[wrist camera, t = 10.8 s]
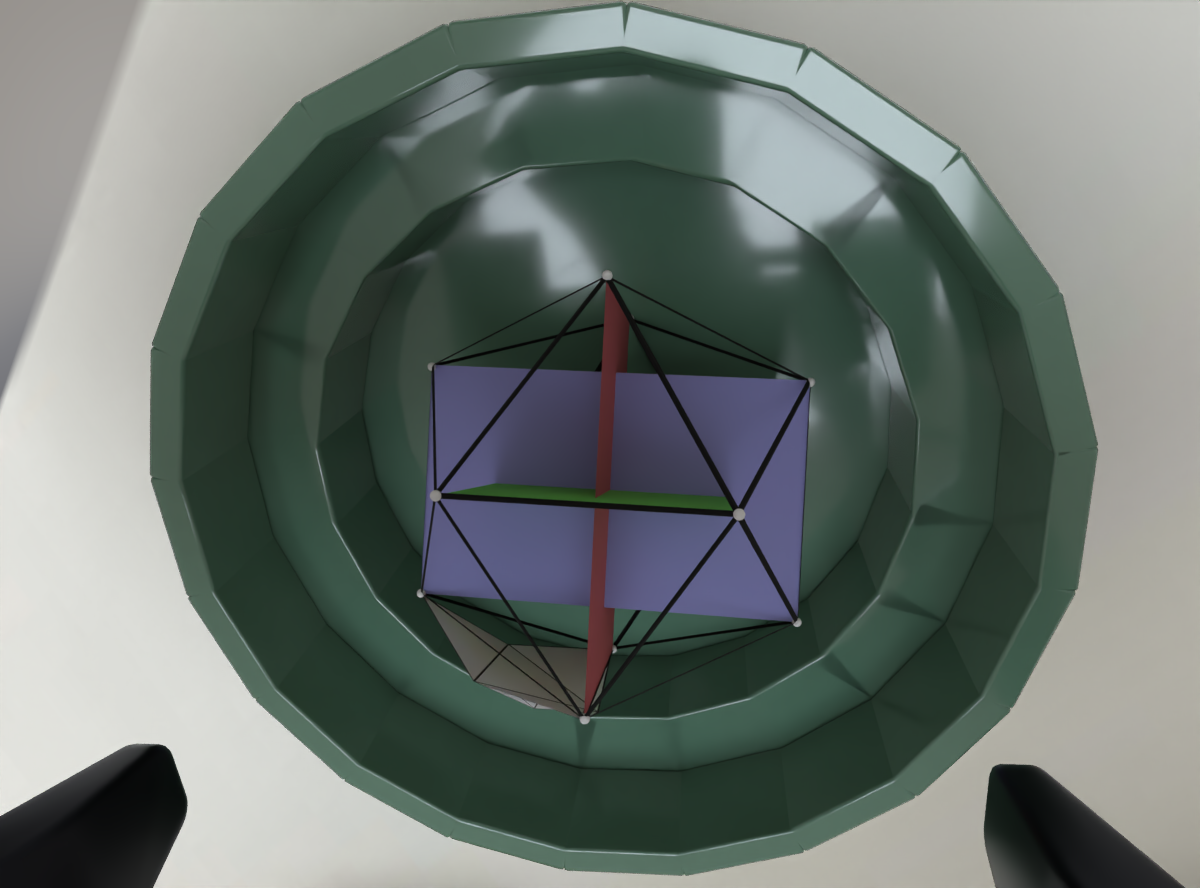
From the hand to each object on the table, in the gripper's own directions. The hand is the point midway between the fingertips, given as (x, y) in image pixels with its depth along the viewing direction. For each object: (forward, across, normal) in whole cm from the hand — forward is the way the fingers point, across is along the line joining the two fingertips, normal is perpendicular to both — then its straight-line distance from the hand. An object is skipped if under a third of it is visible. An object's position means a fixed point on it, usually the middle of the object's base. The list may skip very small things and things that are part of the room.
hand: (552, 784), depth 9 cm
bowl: (+10, 0, 0) cm, 10 cm away
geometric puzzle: (+10, 0, -1) cm, 10 cm away
